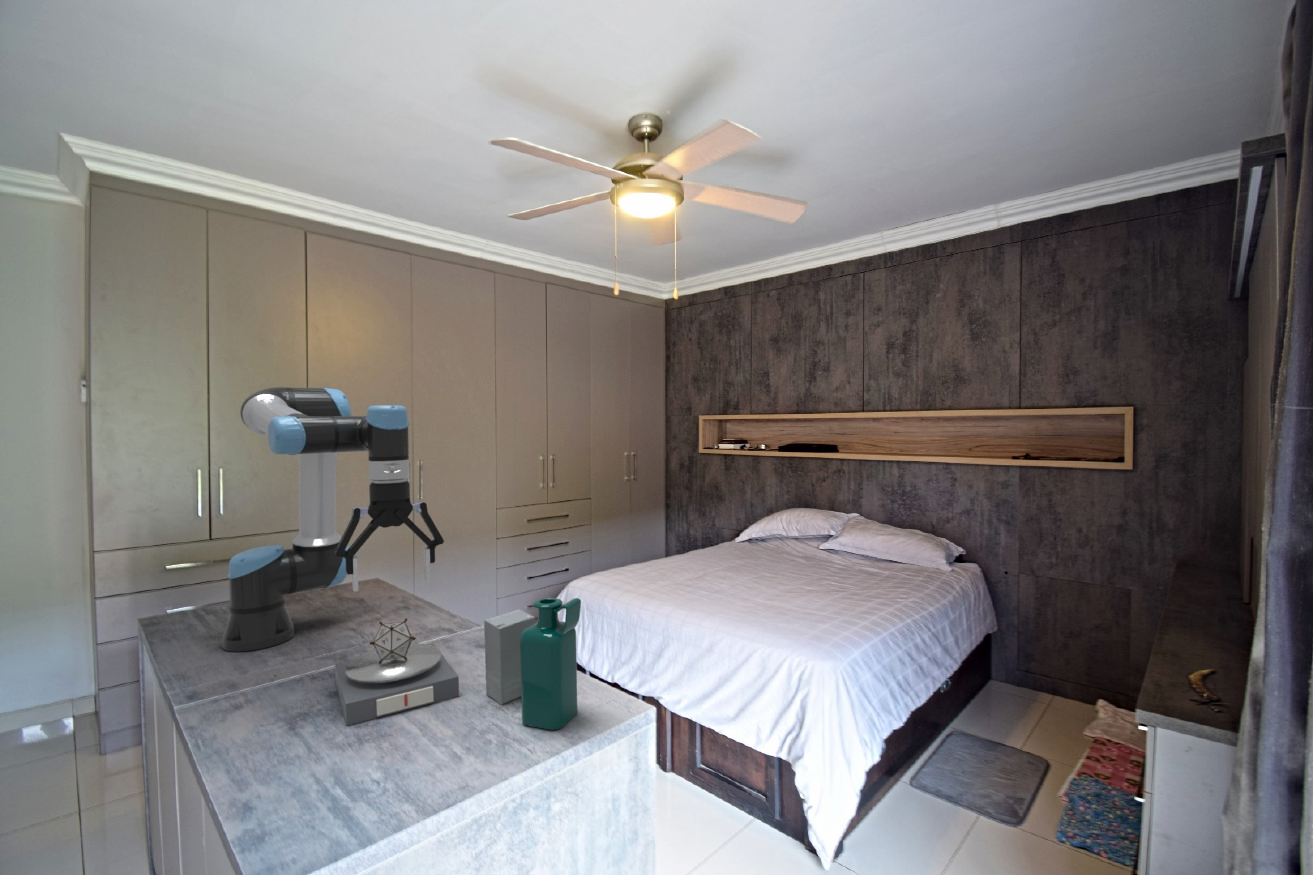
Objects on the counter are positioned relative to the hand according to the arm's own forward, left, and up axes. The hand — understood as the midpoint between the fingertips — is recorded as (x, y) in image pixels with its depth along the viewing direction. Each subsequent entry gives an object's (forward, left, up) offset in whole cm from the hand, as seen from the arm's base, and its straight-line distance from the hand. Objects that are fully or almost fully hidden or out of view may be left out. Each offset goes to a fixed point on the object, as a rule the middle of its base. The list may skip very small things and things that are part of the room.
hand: (392, 584), depth 121 cm
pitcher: (+30, +22, -22) cm, 43 cm away
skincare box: (+16, +19, -22) cm, 33 cm away
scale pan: (0, 0, -17) cm, 17 cm away
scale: (0, 0, -22) cm, 22 cm away
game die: (0, 0, -16) cm, 16 cm away
